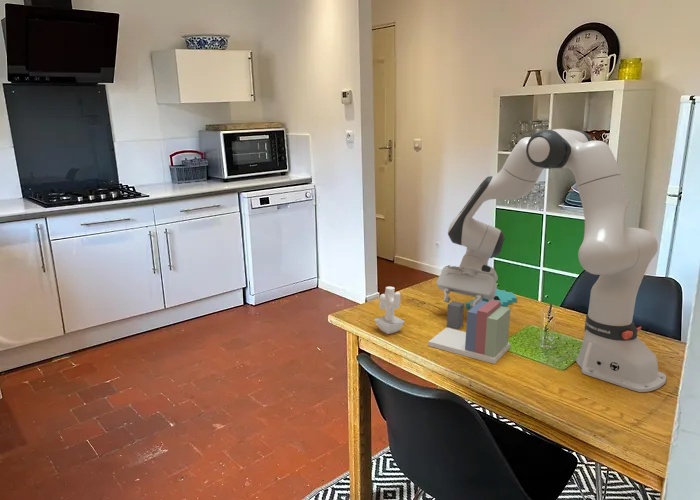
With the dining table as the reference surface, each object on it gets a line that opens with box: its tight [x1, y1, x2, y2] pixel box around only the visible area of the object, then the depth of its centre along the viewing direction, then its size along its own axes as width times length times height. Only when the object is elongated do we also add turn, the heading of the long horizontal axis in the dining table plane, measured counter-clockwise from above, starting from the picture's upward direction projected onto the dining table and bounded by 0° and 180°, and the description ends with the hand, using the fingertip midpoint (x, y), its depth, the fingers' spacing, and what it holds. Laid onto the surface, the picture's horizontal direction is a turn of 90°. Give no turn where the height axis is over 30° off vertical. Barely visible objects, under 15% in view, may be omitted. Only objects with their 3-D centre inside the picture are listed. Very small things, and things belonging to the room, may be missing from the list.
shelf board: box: [427, 300, 511, 365], centre depth 160 cm, size 21×13×14 cm, turn 55°
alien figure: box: [464, 287, 518, 310], centre depth 202 cm, size 20×2×20 cm
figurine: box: [373, 286, 406, 335], centre depth 172 cm, size 7×9×15 cm
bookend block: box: [446, 300, 465, 330], centre depth 176 cm, size 4×4×8 cm
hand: (458, 304), depth 177 cm, fingers open, 8 cm apart
